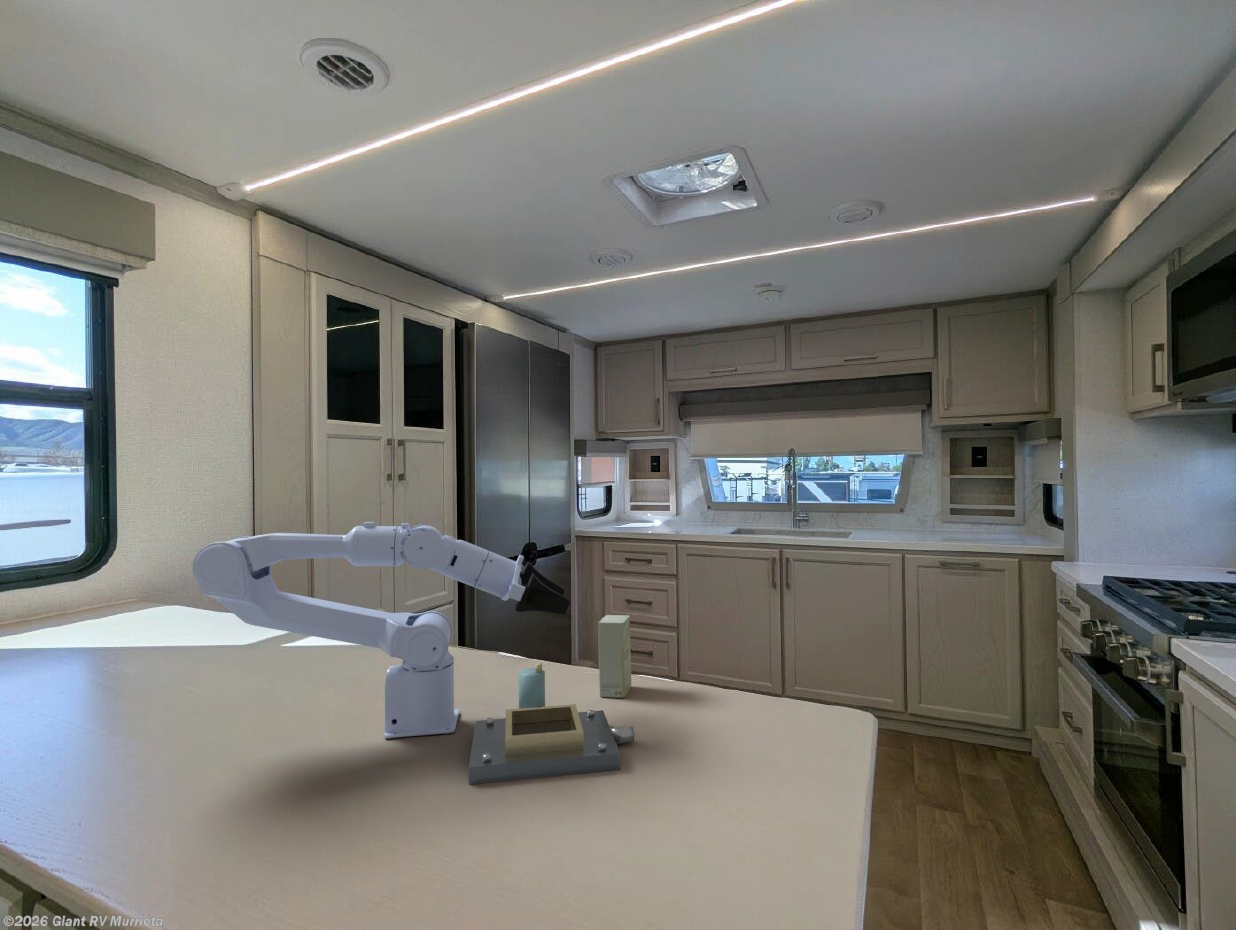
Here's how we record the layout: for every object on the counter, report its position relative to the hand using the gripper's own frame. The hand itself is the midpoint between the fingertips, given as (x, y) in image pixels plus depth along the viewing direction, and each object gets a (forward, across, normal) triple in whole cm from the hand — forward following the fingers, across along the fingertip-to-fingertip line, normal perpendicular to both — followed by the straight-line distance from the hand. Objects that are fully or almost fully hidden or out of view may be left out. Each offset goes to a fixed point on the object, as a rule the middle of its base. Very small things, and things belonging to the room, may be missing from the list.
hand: (564, 601), depth 93 cm
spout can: (+2, +1, +18) cm, 18 cm away
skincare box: (+15, +6, +12) cm, 20 cm away
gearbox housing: (+4, -13, +16) cm, 21 cm away
